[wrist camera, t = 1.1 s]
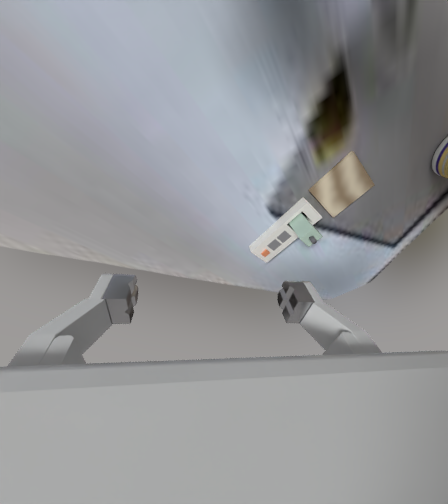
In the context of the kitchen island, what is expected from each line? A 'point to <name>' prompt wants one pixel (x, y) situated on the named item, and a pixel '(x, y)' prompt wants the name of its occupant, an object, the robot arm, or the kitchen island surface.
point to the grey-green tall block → (305, 230)
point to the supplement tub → (441, 159)
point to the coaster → (342, 185)
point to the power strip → (282, 231)
